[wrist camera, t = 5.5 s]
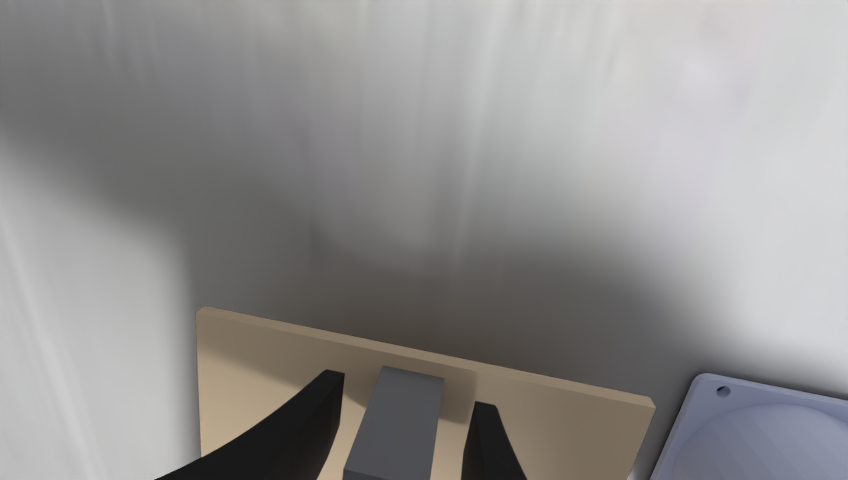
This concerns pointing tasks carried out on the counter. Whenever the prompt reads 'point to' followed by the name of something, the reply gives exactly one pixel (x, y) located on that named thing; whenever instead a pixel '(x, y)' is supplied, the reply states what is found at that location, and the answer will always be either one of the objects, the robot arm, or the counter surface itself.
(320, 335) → the sliding lid
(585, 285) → the counter surface
